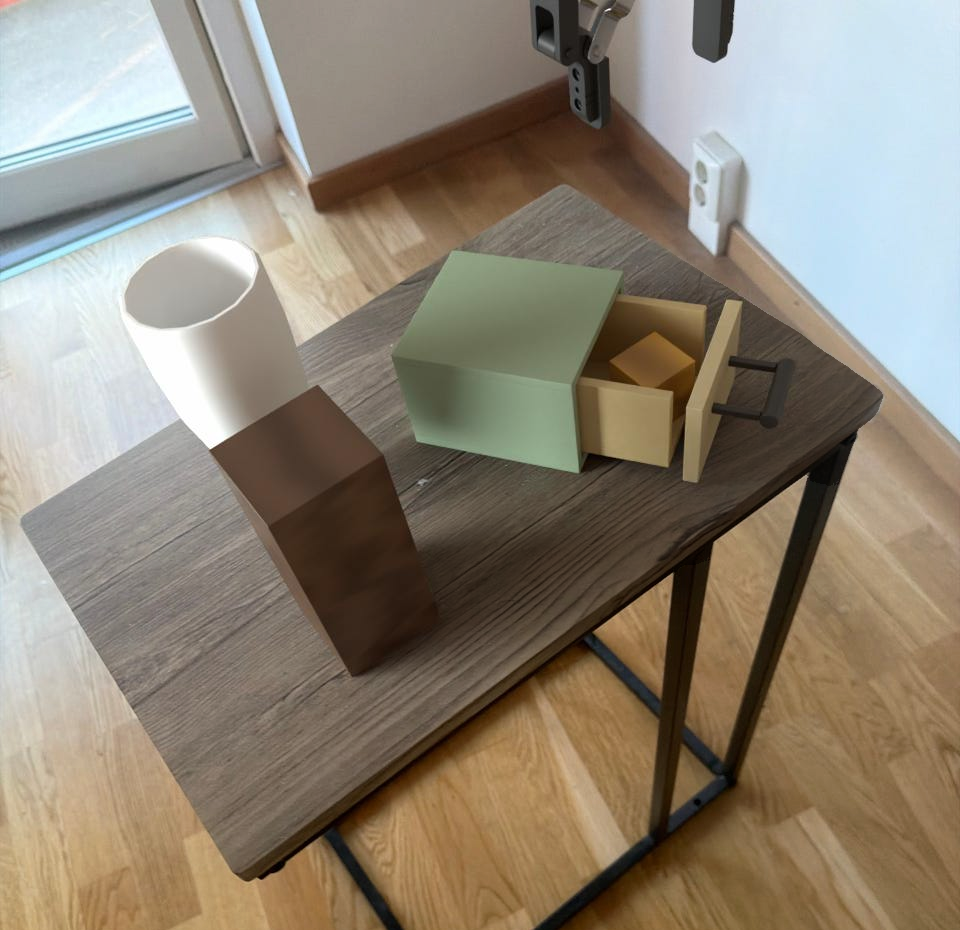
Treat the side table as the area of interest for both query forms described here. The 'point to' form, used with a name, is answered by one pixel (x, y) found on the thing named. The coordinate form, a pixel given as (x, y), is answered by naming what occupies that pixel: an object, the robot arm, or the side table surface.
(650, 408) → the drawer
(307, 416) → the stand
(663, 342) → the block
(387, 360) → the side table surface
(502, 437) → the cabinet
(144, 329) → the cup
